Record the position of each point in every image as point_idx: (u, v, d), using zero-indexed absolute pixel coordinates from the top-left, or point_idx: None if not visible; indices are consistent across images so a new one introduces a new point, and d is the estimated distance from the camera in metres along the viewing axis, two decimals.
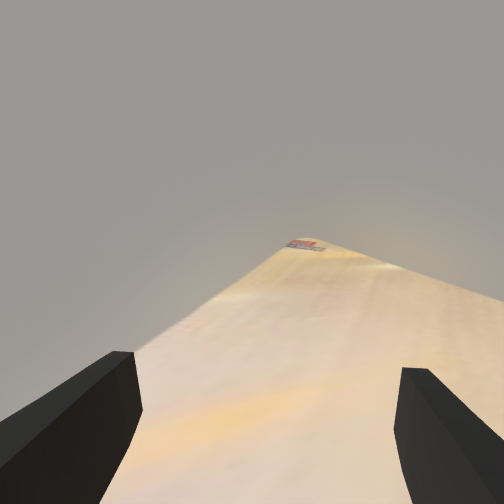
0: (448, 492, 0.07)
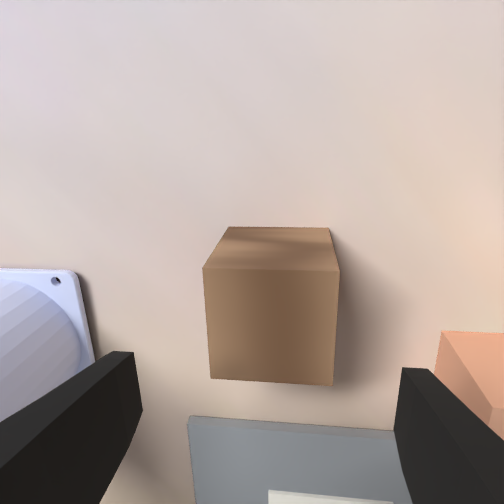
0: (449, 492, 0.07)
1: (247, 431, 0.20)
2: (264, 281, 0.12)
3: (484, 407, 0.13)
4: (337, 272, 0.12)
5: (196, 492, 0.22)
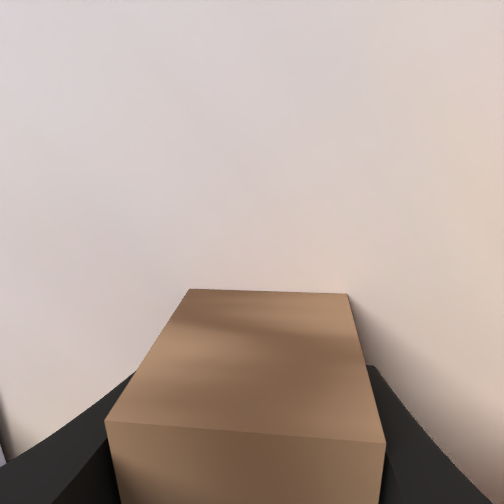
0: None
1: None
2: (229, 450, 0.06)
3: None
4: (381, 445, 0.06)
5: None
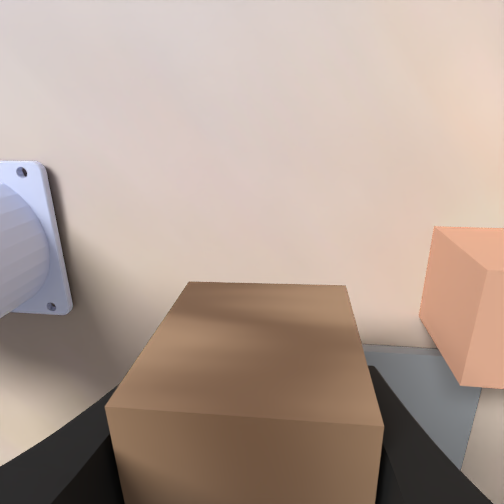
0: None
1: None
2: (229, 435, 0.06)
3: (479, 275, 0.12)
4: (379, 428, 0.06)
5: None
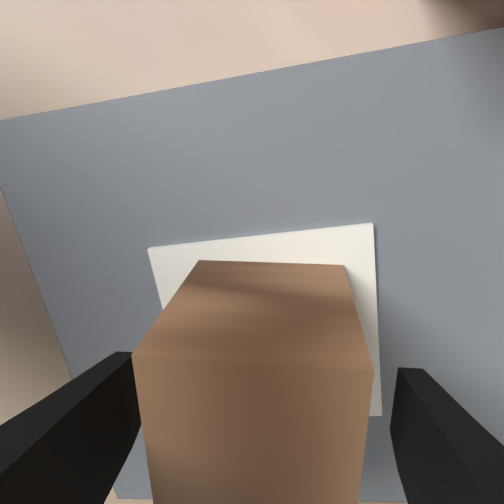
0: (442, 492, 0.07)
1: (78, 113, 0.11)
2: (240, 380, 0.07)
3: None
4: (369, 373, 0.06)
5: (39, 282, 0.13)
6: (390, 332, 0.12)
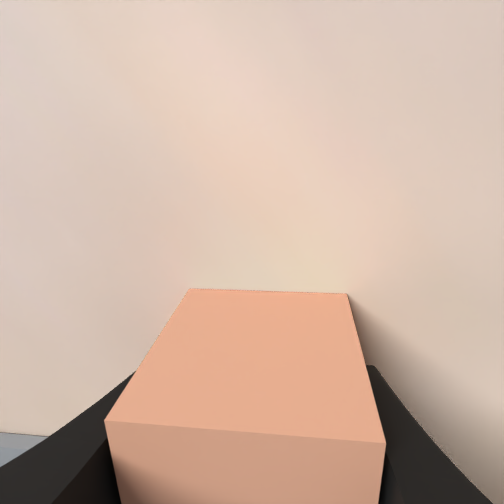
0: None
1: None
2: None
3: None
4: None
5: None
6: None
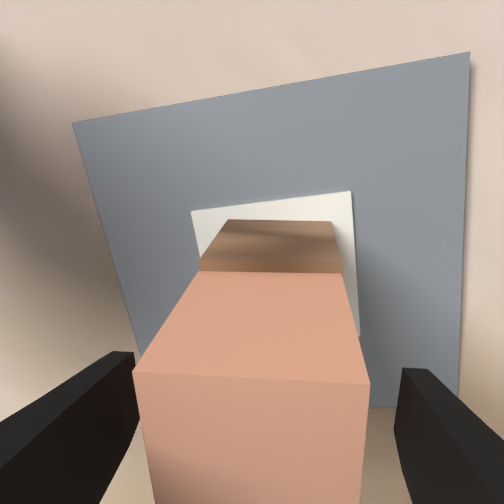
0: (449, 492, 0.07)
1: (145, 114, 0.15)
2: None
3: None
4: (340, 266, 0.11)
5: (108, 238, 0.18)
6: (365, 271, 0.17)
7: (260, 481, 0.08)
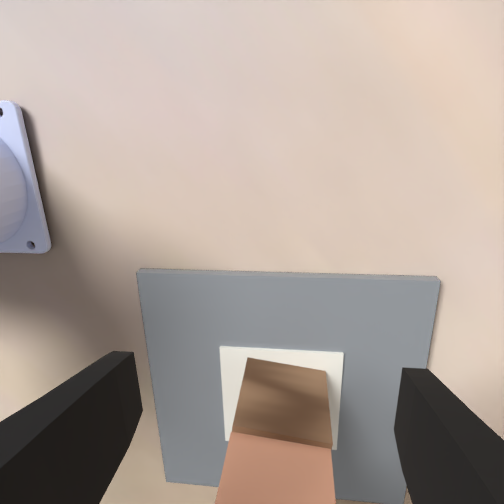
0: (448, 492, 0.07)
1: (195, 277, 0.20)
2: None
3: None
4: (331, 444, 0.16)
5: (149, 353, 0.22)
6: (346, 406, 0.22)
7: None
